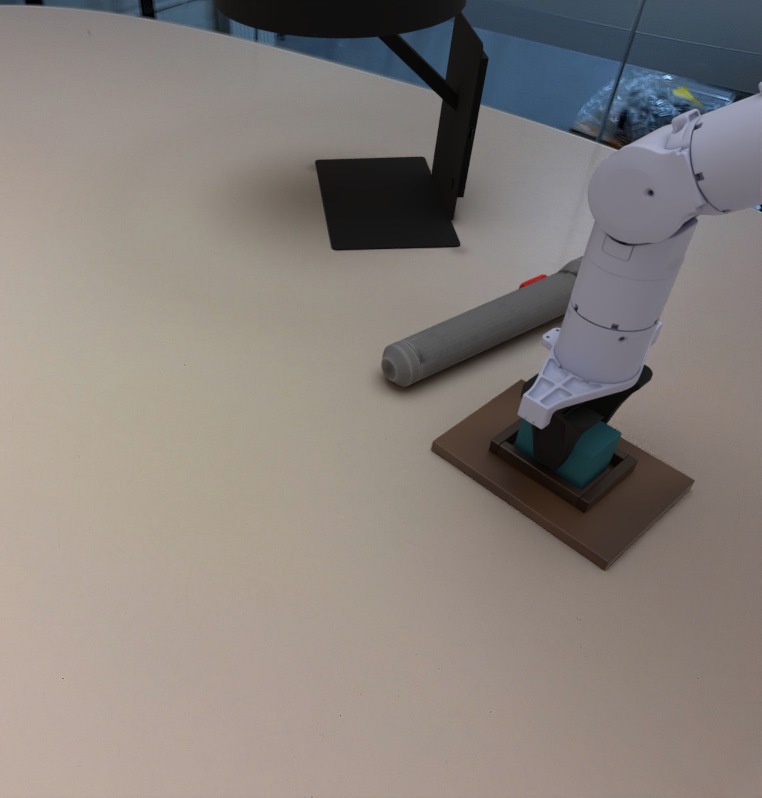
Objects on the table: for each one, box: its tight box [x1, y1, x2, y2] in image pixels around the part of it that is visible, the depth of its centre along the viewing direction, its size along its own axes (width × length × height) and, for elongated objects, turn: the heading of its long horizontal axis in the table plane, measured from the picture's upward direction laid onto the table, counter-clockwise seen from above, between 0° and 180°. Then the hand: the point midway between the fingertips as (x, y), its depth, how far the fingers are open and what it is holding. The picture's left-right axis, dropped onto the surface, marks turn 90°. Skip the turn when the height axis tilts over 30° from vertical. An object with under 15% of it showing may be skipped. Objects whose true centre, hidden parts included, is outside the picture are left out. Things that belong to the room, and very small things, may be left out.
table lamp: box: [213, 0, 490, 251], centre depth 85 cm, size 26×28×40 cm
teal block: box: [514, 418, 623, 490], centre depth 63 cm, size 6×4×4 cm, turn 39°
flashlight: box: [380, 255, 584, 388], centre depth 77 cm, size 5×28×5 cm
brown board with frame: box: [430, 378, 696, 571], centre depth 65 cm, size 16×12×2 cm
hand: (564, 447), depth 64 cm, fingers closed on teal block, 4 cm apart
